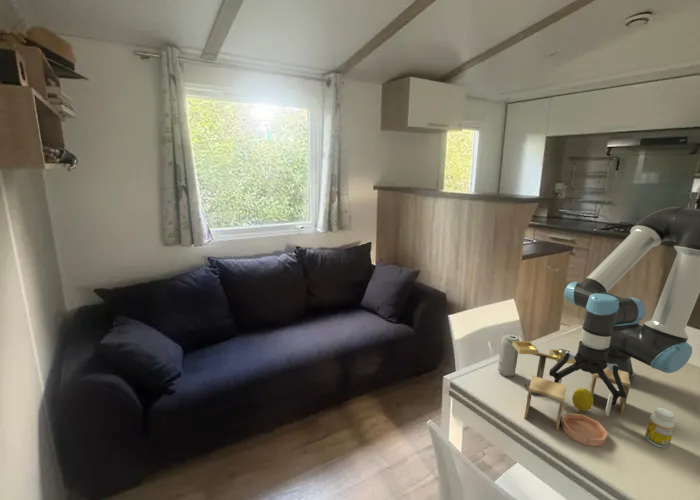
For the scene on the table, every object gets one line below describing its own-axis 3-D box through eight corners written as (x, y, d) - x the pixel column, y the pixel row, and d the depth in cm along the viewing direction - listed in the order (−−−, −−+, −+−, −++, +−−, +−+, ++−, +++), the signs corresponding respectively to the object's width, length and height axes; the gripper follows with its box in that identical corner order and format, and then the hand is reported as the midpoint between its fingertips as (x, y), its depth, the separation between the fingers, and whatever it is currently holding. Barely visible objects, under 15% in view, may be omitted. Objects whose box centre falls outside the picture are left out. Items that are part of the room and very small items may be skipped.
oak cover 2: (621, 401, 121) (628, 372, 119) (623, 414, 115) (630, 384, 112) (588, 391, 126) (594, 363, 123) (588, 403, 119) (595, 374, 117)
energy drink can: (498, 367, 140) (503, 331, 136) (515, 371, 137) (521, 335, 133) (496, 374, 134) (501, 337, 131) (513, 379, 132) (519, 342, 128)
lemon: (593, 417, 113) (598, 395, 111) (574, 415, 114) (578, 392, 112) (586, 406, 118) (590, 384, 116) (567, 403, 119) (571, 382, 117)
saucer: (590, 420, 111) (591, 414, 111) (614, 447, 101) (616, 441, 100) (554, 418, 112) (555, 412, 111) (574, 445, 101) (576, 439, 100)
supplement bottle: (669, 451, 100) (677, 421, 98) (644, 441, 103) (652, 412, 101) (668, 440, 104) (676, 411, 102) (645, 431, 107) (652, 403, 105)
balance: (560, 386, 128) (568, 343, 124) (569, 396, 122) (578, 352, 118) (506, 383, 129) (512, 340, 125) (513, 394, 123) (520, 349, 119)
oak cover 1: (559, 415, 113) (565, 385, 110) (558, 431, 107) (564, 399, 104) (527, 404, 118) (532, 375, 115) (524, 418, 111) (529, 387, 109)
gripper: (644, 351, 107) (628, 413, 112) (549, 328, 120) (539, 385, 125) (647, 362, 101) (631, 427, 105) (547, 337, 114) (536, 396, 119)
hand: (581, 404), depth 115 cm, fingers open, 13 cm apart
